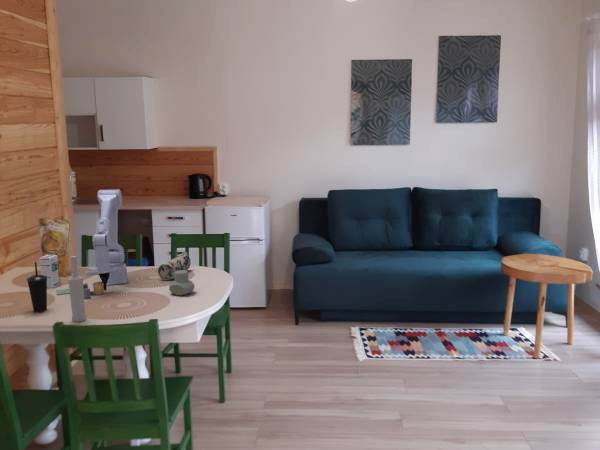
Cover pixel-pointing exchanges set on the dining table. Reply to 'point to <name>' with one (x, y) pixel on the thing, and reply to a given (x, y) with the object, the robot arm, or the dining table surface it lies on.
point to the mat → (63, 291)
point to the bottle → (76, 293)
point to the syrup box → (50, 270)
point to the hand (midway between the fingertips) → (105, 289)
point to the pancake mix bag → (55, 240)
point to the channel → (86, 291)
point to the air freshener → (181, 283)
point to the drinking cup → (38, 291)
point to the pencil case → (174, 266)
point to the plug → (97, 288)
